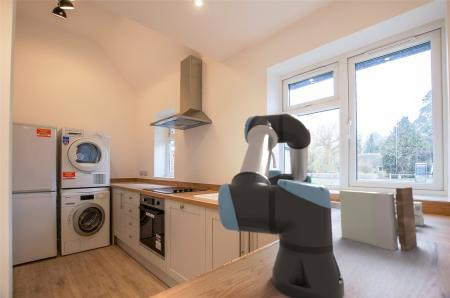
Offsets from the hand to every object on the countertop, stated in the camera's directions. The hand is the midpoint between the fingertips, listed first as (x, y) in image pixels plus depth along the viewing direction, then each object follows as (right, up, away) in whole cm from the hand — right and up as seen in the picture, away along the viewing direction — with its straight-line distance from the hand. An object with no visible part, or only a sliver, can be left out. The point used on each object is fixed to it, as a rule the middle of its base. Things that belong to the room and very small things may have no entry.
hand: (330, 207), depth 92 cm
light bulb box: (+47, -13, +17) cm, 52 cm away
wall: (+26, -12, +5) cm, 29 cm away
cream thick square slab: (+8, -9, -12) cm, 17 cm away
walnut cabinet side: (+16, -9, -16) cm, 25 cm away
